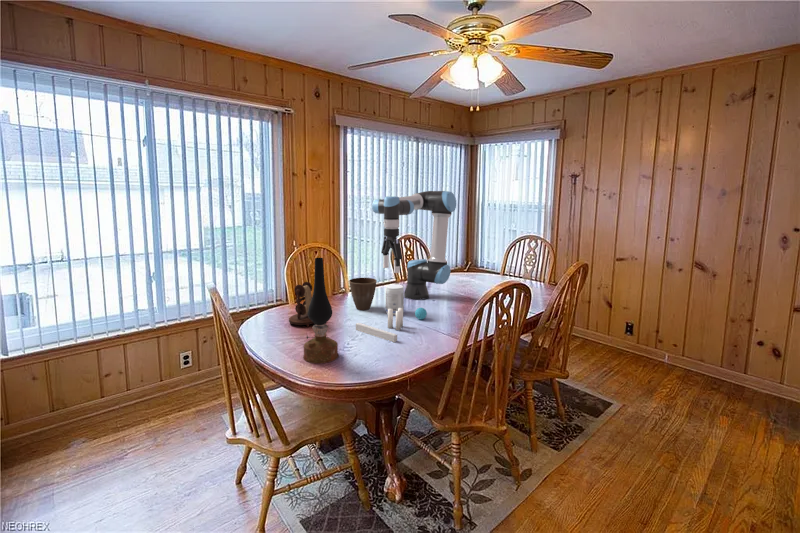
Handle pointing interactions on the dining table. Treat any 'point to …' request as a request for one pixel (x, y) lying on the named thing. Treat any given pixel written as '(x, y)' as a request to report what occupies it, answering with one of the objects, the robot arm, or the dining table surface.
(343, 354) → the dining table surface
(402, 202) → the robot arm
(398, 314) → the pin
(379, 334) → the back wall
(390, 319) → the pin
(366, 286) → the plant pot
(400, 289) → the supplement tub
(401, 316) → the front pin
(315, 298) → the oil lamp
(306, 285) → the dark brown upright piece
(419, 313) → the ball
